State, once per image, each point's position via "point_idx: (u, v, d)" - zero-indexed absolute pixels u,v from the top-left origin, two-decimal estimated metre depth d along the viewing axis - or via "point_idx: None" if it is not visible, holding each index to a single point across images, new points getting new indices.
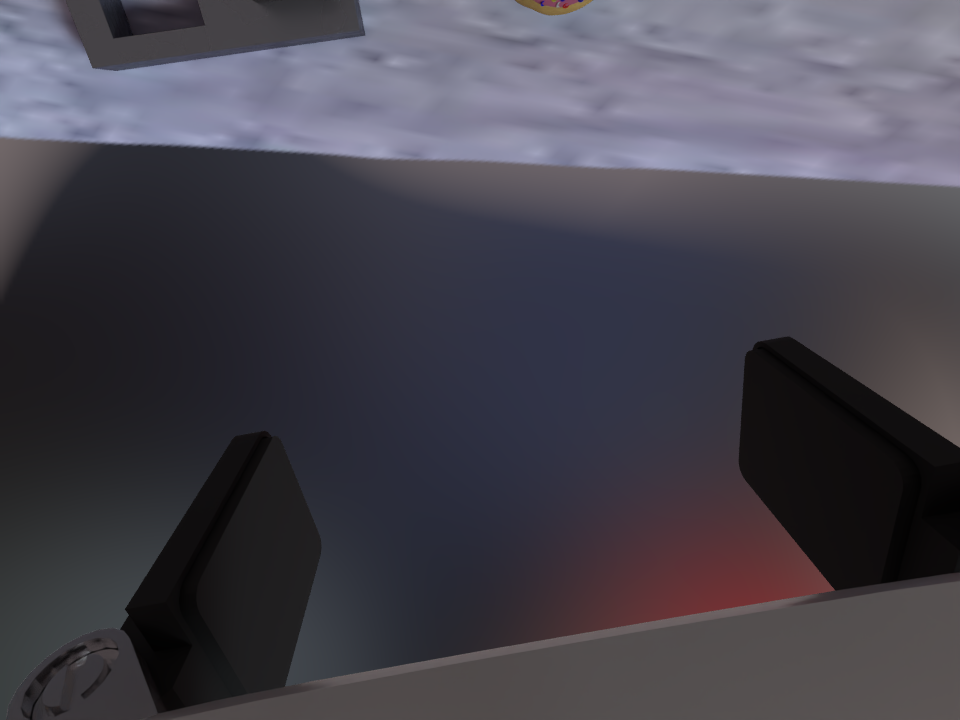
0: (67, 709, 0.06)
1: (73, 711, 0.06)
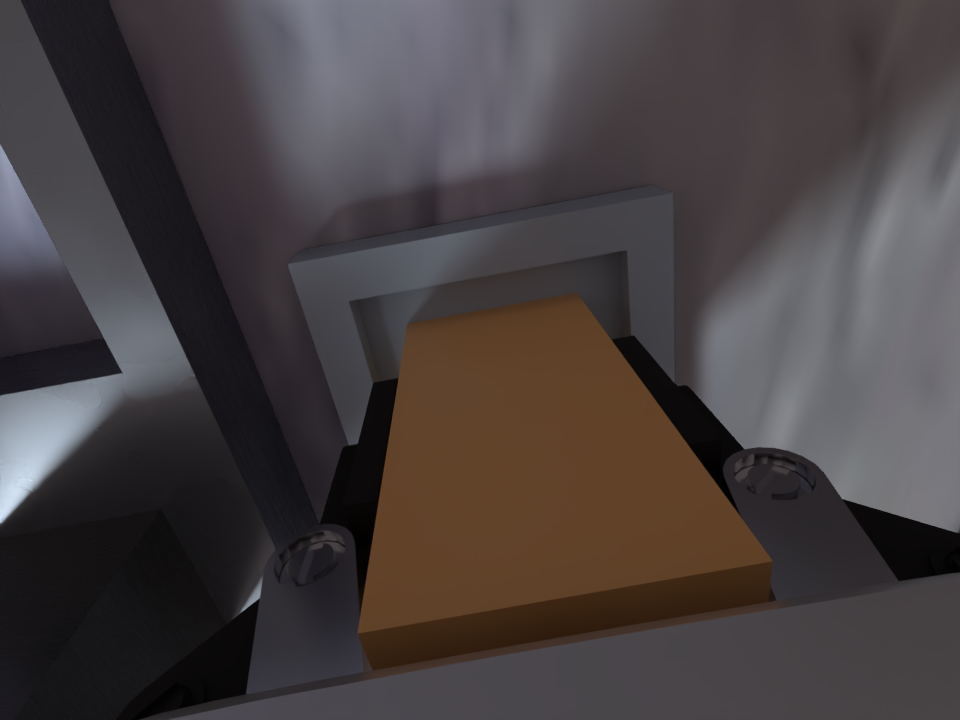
0: (302, 583, 0.07)
1: (305, 588, 0.07)
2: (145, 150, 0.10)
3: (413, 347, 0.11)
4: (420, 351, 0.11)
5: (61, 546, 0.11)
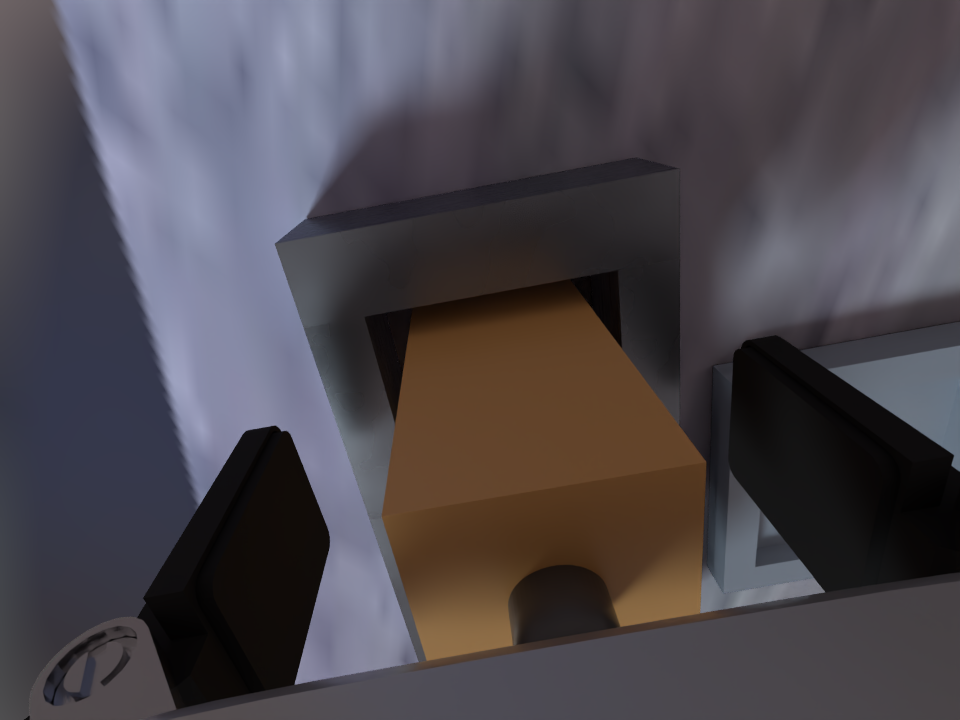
0: (87, 695, 0.06)
1: (93, 698, 0.06)
2: None
3: (419, 318, 0.12)
4: (426, 322, 0.12)
5: None
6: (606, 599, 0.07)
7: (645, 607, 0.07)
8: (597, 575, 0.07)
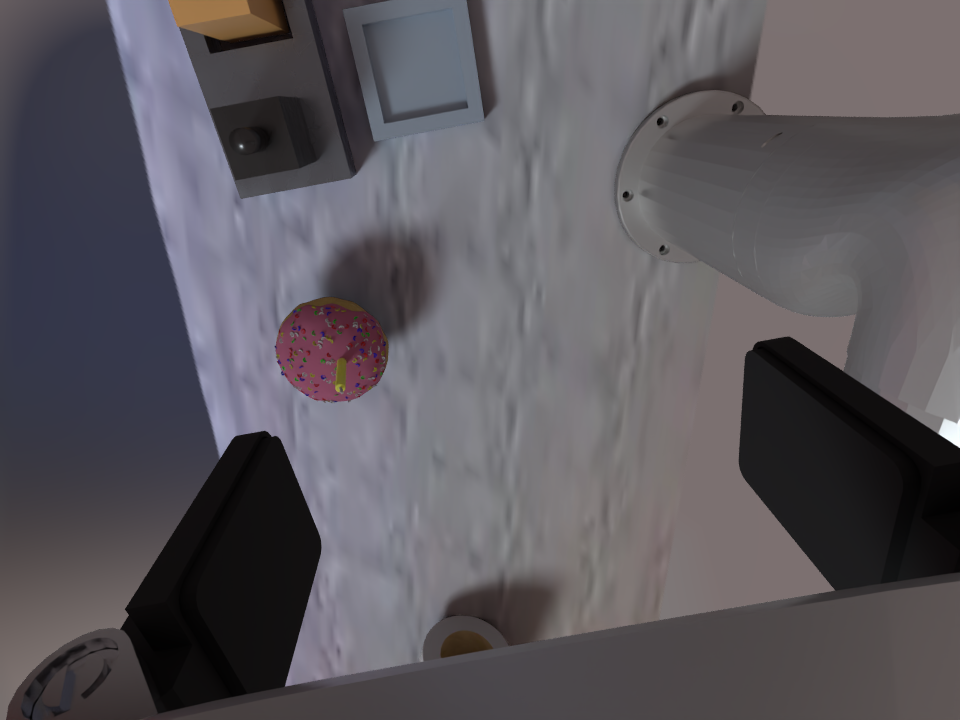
0: (67, 709, 0.06)
1: (73, 711, 0.06)
2: None
3: None
4: None
5: None
6: None
7: None
8: None
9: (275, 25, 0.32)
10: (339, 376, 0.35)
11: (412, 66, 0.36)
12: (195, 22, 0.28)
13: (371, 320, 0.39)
